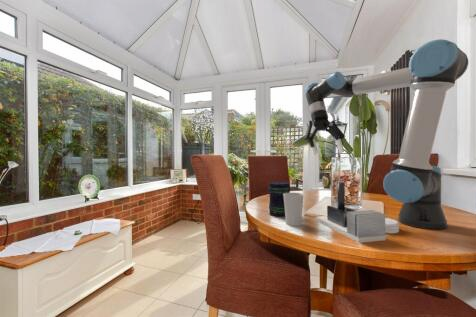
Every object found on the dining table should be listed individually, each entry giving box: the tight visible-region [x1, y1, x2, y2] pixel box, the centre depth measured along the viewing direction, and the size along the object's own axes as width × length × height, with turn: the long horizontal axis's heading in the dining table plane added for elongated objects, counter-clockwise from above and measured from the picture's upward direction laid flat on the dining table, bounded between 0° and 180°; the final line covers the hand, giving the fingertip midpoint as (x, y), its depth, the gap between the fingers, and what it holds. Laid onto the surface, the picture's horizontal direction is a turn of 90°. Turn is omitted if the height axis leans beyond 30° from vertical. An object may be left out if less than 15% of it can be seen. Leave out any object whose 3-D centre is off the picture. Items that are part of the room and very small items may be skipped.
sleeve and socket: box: [326, 205, 386, 238], centre depth 83 cm, size 20×10×7 cm, turn 12°
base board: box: [315, 215, 387, 244], centre depth 85 cm, size 26×10×2 cm, turn 12°
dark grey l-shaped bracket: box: [336, 181, 347, 222], centre depth 82 cm, size 16×3×14 cm, turn 12°
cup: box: [283, 192, 304, 227], centre depth 93 cm, size 8×8×12 cm
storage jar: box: [268, 181, 291, 218], centre depth 107 cm, size 10×10×15 cm
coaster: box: [385, 217, 400, 235], centre depth 85 cm, size 10×10×4 cm
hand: (328, 153), depth 106 cm, fingers open, 13 cm apart
